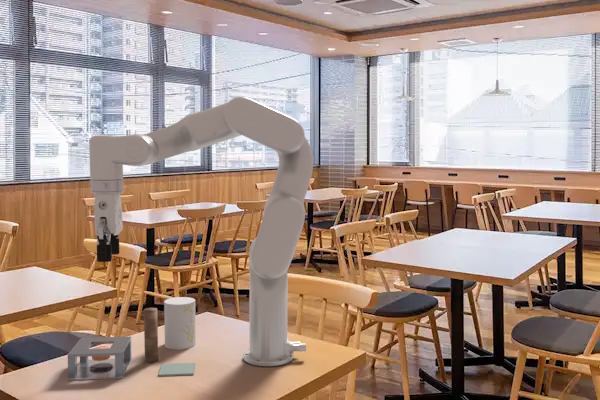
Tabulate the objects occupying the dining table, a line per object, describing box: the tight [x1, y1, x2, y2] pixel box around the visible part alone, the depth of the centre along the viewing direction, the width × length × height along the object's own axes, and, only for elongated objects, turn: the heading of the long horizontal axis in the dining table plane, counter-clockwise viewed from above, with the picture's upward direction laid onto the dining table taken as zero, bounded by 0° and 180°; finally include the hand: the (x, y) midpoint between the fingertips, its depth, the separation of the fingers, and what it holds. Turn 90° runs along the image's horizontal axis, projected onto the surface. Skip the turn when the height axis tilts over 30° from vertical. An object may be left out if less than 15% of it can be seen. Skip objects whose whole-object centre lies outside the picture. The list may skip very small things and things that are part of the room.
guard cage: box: [67, 336, 133, 381], centre depth 141 cm, size 12×12×6 cm
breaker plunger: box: [91, 345, 111, 361], centre depth 141 cm, size 4×4×2 cm
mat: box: [158, 362, 196, 377], centre depth 142 cm, size 8×7×1 cm
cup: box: [163, 296, 197, 351], centre depth 160 cm, size 8×8×12 cm
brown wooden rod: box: [143, 307, 159, 364], centre depth 147 cm, size 3×3×13 cm
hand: (108, 257), depth 144 cm, fingers open, 9 cm apart
